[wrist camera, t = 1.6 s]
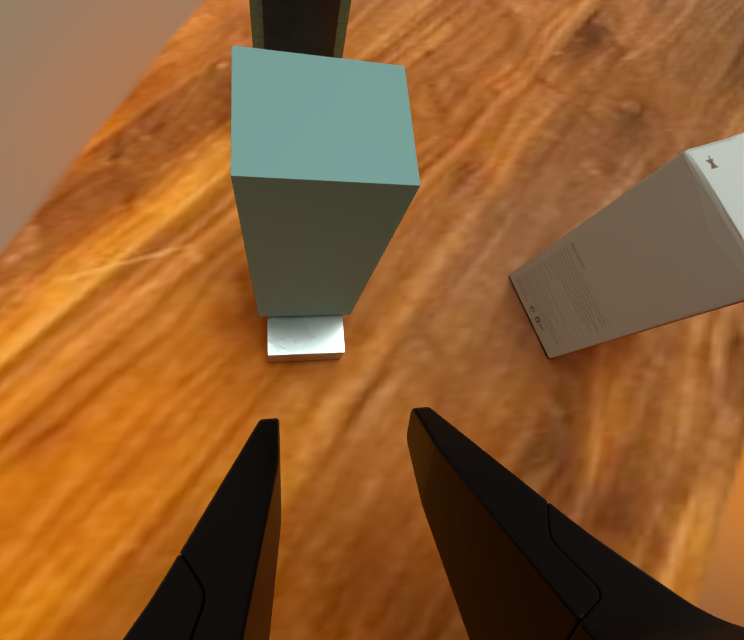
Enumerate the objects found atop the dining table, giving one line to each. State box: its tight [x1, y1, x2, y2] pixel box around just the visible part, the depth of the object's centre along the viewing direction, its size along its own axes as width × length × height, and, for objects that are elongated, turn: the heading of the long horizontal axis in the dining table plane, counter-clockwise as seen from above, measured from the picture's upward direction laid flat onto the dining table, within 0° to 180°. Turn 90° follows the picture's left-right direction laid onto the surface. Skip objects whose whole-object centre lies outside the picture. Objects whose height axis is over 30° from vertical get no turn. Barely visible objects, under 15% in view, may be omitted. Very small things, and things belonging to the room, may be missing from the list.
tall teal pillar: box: [231, 45, 420, 317], centre depth 17 cm, size 5×5×12 cm
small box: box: [510, 133, 744, 358], centre depth 22 cm, size 8×6×13 cm
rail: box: [249, 0, 351, 362], centre depth 19 cm, size 20×5×14 cm, turn 4°
